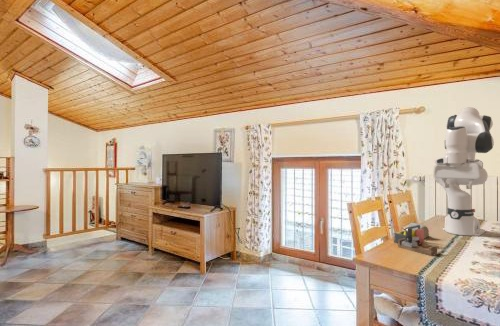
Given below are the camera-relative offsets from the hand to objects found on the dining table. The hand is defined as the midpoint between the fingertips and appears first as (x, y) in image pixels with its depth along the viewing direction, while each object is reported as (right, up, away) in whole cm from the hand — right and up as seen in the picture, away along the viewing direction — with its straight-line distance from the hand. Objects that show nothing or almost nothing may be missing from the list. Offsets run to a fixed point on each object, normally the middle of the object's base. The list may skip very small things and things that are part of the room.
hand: (457, 188), depth 135 cm
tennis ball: (-17, -30, +10) cm, 36 cm away
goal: (-18, -30, +12) cm, 36 cm away
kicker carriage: (-19, -28, +4) cm, 34 cm away
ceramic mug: (-6, -30, +21) cm, 37 cm away
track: (-21, -30, -2) cm, 36 cm away
